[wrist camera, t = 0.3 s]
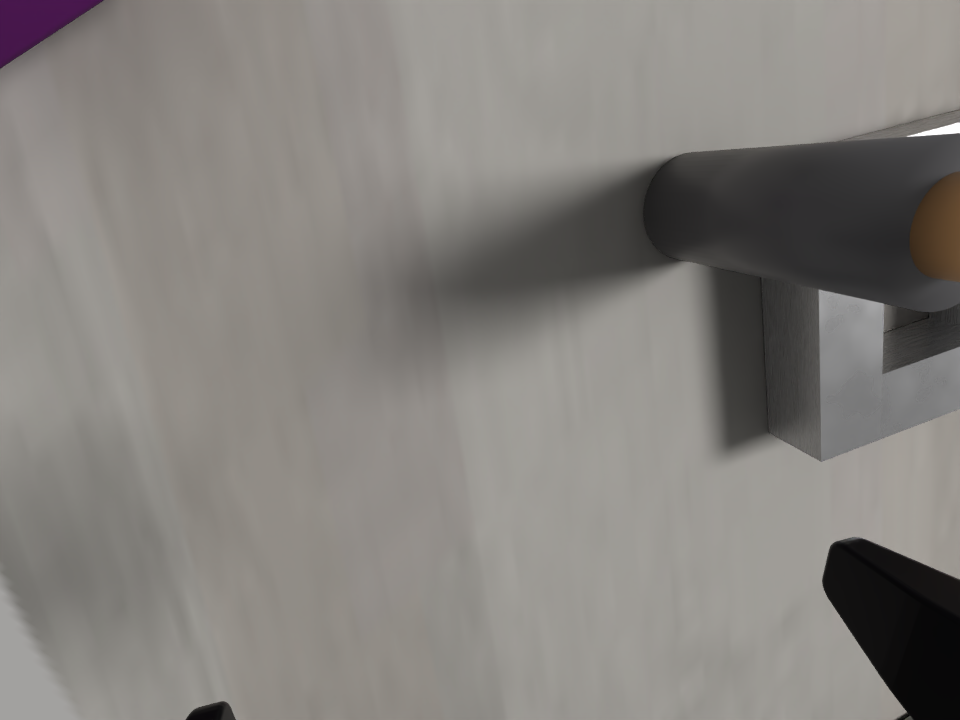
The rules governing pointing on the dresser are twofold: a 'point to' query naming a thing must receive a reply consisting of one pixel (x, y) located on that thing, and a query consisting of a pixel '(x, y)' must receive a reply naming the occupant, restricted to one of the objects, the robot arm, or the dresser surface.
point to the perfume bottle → (34, 22)
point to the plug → (821, 216)
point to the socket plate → (856, 356)
